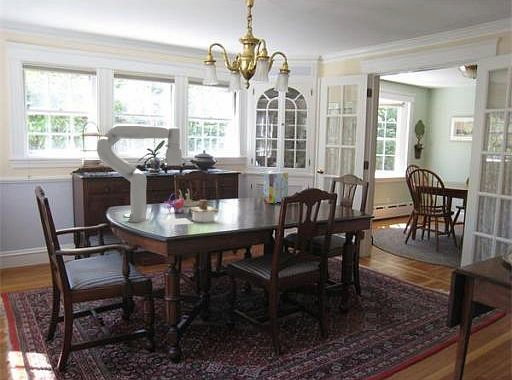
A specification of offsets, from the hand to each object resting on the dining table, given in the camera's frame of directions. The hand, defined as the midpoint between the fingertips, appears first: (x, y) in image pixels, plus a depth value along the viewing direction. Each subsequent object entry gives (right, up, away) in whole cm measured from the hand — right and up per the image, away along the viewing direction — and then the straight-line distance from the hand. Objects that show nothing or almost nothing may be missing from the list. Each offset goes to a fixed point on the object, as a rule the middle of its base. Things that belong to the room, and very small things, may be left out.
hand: (173, 173), depth 279 cm
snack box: (+70, -22, +89) cm, 116 cm away
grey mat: (+3, -31, -6) cm, 32 cm away
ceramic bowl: (+19, -31, +2) cm, 36 cm away
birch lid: (+19, -24, +1) cm, 31 cm away
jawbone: (+5, -24, +55) cm, 60 cm away
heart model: (-3, -27, +28) cm, 39 cm away
